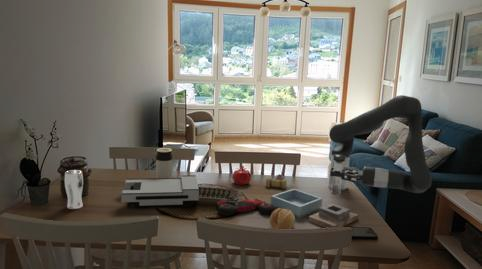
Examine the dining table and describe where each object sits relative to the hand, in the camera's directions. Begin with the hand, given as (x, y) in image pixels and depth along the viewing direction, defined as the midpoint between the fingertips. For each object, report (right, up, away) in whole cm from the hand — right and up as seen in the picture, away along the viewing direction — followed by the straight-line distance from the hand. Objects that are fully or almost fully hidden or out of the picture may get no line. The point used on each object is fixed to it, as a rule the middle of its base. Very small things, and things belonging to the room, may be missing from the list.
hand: (330, 171), depth 158 cm
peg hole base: (+2, -20, +3) cm, 21 cm away
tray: (-12, -17, +14) cm, 26 cm away
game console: (-73, -15, +17) cm, 76 cm away
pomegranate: (-36, -11, +45) cm, 58 cm away
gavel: (-17, -11, +49) cm, 53 cm away
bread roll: (-21, -22, -8) cm, 31 cm away
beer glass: (-106, -15, +5) cm, 107 cm away
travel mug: (-75, -10, +37) cm, 85 cm away
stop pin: (+2, -9, +1) cm, 9 cm away
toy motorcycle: (-35, -18, +11) cm, 41 cm away
